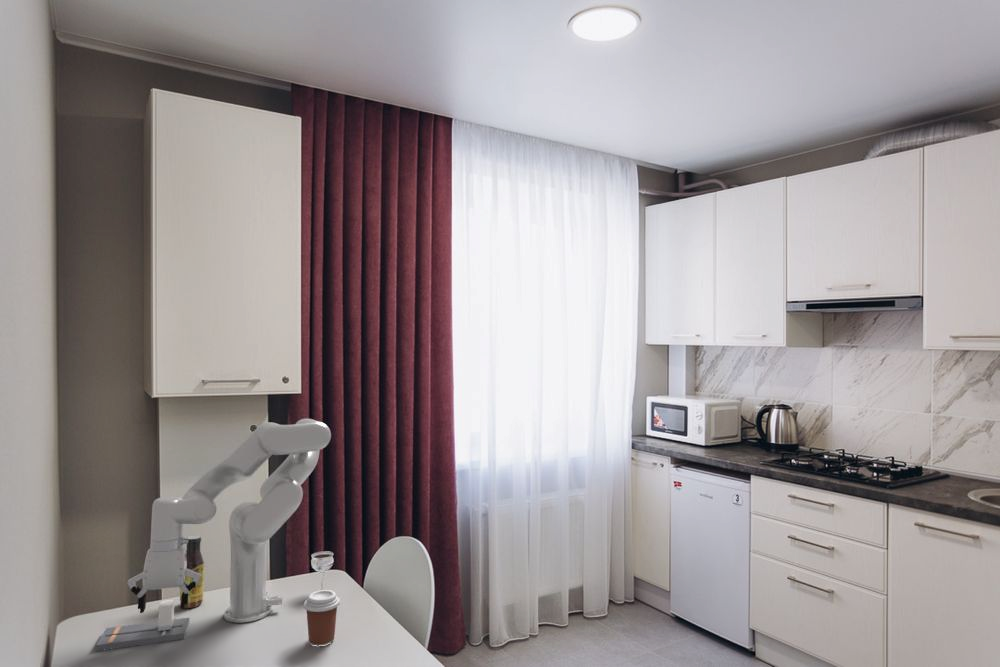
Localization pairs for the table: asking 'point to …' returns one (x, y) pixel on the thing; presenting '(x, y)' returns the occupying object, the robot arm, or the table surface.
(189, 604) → the sauce bottle
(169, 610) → the fader
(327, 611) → the coffee cup
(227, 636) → the table surface
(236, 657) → the table surface
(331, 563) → the wineglass
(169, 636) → the grey slider base
